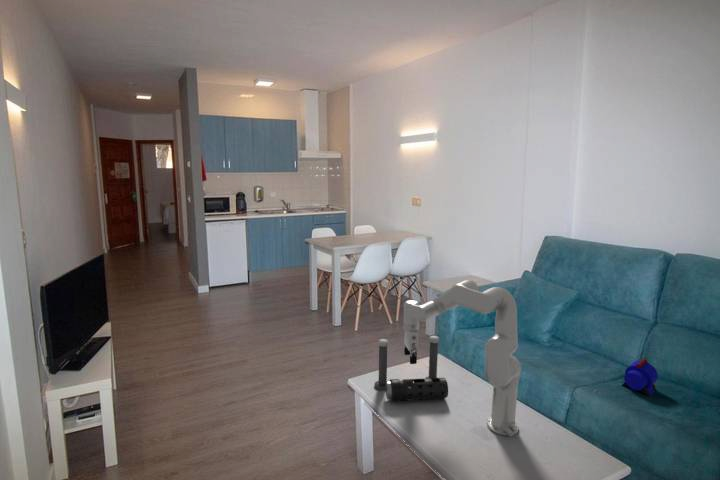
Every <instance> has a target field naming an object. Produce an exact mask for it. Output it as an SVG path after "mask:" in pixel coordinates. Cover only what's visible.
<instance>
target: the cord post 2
mask: <svg viewBox="0 0 720 480" xmlns="http://www.w3.org/2000/svg"><path fill="white" fill-rule="evenodd" d="M439 338H440V337H439V336H437V335H430V336H429V356H428V357H429V359H428V360H429V361H428V376H425V378H438V377H437V376H438V354H439V353H438V352H439Z"/></svg>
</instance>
